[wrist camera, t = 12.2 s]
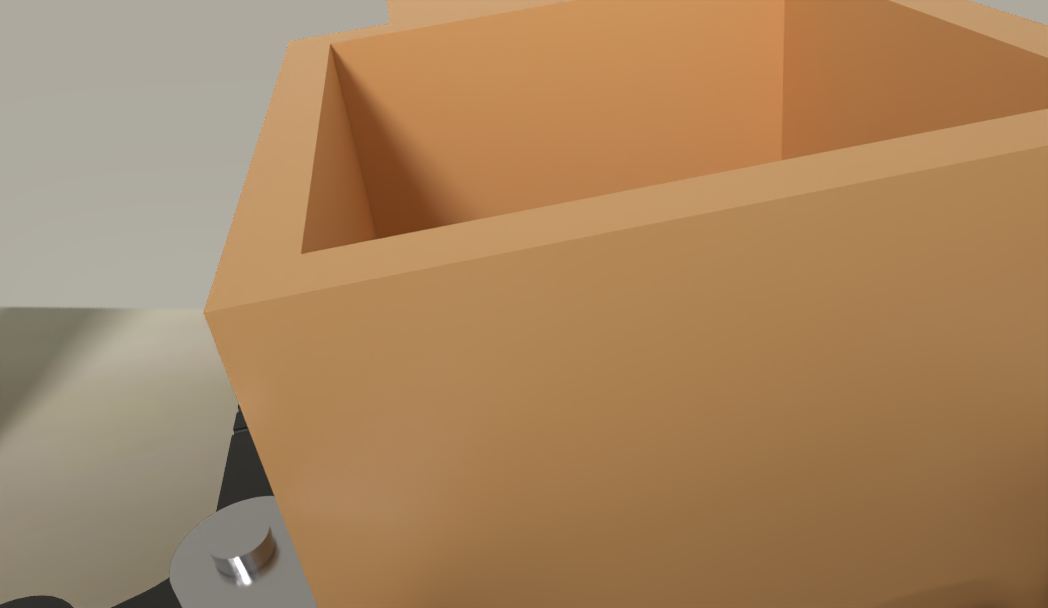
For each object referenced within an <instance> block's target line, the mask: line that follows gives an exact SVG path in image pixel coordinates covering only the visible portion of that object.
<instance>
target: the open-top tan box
mask: <svg viewBox="0 0 1048 608" xmlns="http://www.w3.org/2000/svg"><path fill="white" fill-rule="evenodd" d="M387 4H388V12H389V20H390V24H384V25H378V26H373V27H367V28H362V29H356V30H350V31H345V32H339V33H333V34H328V35H322V36H316V37H311V38H305V39H300V40H294V41H290V42H289V44H288V47H287V50H286V54H285V57H284V60H283V63H282V66H281V69H280V73H279V76H278V79H277V82H276V85H275V88H274V92H273V95H272V98H271V101H270V104H269V108H268V111H267V114H266V117H265V120H264V123H263V127H262V129H261V133H260V136H259V139H258V142H257V145H256V148H255V152H254V155H253V158H252V161H251V164H250V167H249V171H248V174H247V177H246V180H245V183H244V186H243V189H242V193H241V196H240V199H239V202H238V205H237V209H236V212H235V215H234V218H233V221H232V224H231V228H230V231H229V234H228V237H227V240H226V243H225V246H224V250H223V253H222V256H221V259H220V263H219V265H218V268H217V272H216V275H215V278H214V281H213V285H212V287H211V291H210V294H209V297H208V300H207V304H206V306H205V310H204V315H205V318H206V320H207V323H208V325H209V328H210V330H211V333H212V336H213V338H214V341H215V343H216V346H217V349H218V351H219V354H220V356H221V359H222V362H223V364H224V367H225V369H226V372H227V374H228V377H229V380H230V382H231V385H232V387H233V390H234V393H235V395H236V398H237V400H238V403H239V405H240V408H241V411H242V413H243V416H244V418H245V421H246V424H247V426H248V429H249V431H250V434H251V436H252V439H253V442H254V444H255V447H256V449H257V452H258V455H259V457H260V460H261V462H262V465H263V467H264V470H265V473H266V475H267V478H268V480H269V483H270V486H271V488H272V491H273V493H274V496H275V499H276V501H277V504H278V506H279V509H280V511H281V514H282V517H283V519H284V522H285V524H286V527H287V530H288V532H289V535H290V537H291V540H292V542H293V545H294V548H295V550H296V553H297V555H298V558H299V561H300V563H301V566H302V568H303V571H304V573H305V576H306V579H307V581H308V584H309V586H310V589H311V592H312V594H313V597H314V599H315V602H316V604H317V607H318V608H1048V25H1045V24H1041V23H1038V22H1035V21H1032V20H1029V19H1026V18H1022V17H1019V16H1016V15H1013V14H1010V13H1007V12H1004V11H1000V10H997V9H994V8H991V7H988V6H984V5H981V4H978V3H975V2H972V1H969V0H387Z"/></svg>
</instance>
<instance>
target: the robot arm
mask: <svg viewBox="0 0 1048 608" xmlns="http://www.w3.org/2000/svg"><path fill="white" fill-rule="evenodd" d="M238 410H239V412H237V414H236V419H235V423H234V428H233V430H234V435H232V438H231V443H230V448H229V453H228V457H227V462H226V467H225V472H224V477H223V482H222V486H221V491H220V496H219V501H218V506H217V511H216V513H214V514H212V515H211V516H209V517H207V518H206V519H205V520H203V521H202V522H201V523H199V524H198V525H197V526H196V527H195V528H194V529H193V530H192V531H191V532H190V533H189V534H188V535H187V536H186V537H185V538H184V540H183V541H182V542H181V543H180V545H179V547H178V548H177V550H176V552H175V554H174V556H173V559H172V561H171V565H170V571H169V575H170V577H169V578H168V579H166V580H165V581H163V582H161V583H160V584H158V585H157V586H155V587H153V588H151V589H149V590H147V591H146V592H144V593H142V594H140V595H137V596H135V597H133V598H131V599H129V600H127V601H125V602H122V603H120V604H118V605H116V606H114V607H112V608H318V607H317V604H316V602H315V599H314V597H313V594H312V592H311V589H310V586H309V584H308V581H307V579H306V576H305V573H304V571H303V568H302V566H301V563H300V561H299V558H298V555H297V553H296V550H295V548H294V545H293V542H292V540H291V537H290V535H289V532H288V530H287V527H286V524H285V522H284V519H283V517H282V514H281V511H280V509H279V506H278V504H277V501H276V499H275V496H274V493H273V491H272V488H271V486H270V483H269V480H268V478H267V475H266V473H265V470H264V467H263V465H262V462H261V460H260V457H259V455H258V452H257V449H256V447H255V444H254V442H253V439H252V436H251V434H250V431H249V429H248V426H247V424H246V421H245V418H244V416H243V413H242V411H241V408H240V405H239V404H238ZM0 608H73V607H72V606H71V605H70V604H69V603H68V602H66V601H64V600H63V599H60V598H56V597H53V596H30V597H25V598H20V599H16V600H13V601H9V602H6V603H3V604H1V605H0Z"/></svg>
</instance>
